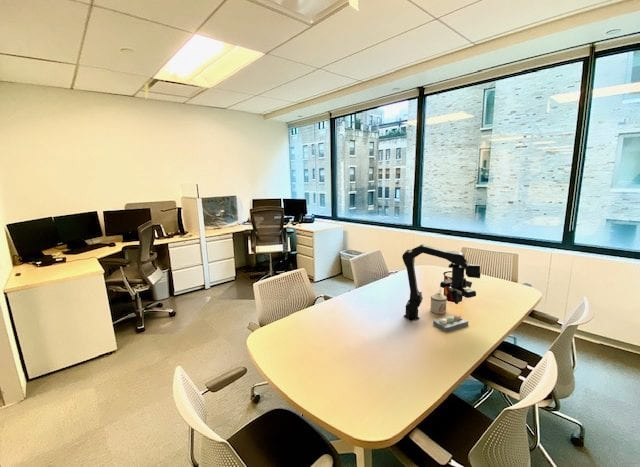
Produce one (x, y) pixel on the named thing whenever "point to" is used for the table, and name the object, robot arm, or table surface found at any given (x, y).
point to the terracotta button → (457, 317)
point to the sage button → (450, 319)
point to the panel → (450, 324)
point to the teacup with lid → (438, 303)
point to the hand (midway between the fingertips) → (456, 303)
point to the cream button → (443, 321)
